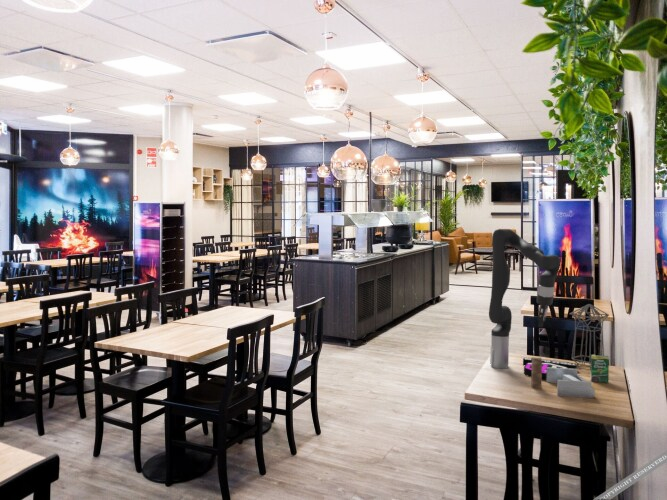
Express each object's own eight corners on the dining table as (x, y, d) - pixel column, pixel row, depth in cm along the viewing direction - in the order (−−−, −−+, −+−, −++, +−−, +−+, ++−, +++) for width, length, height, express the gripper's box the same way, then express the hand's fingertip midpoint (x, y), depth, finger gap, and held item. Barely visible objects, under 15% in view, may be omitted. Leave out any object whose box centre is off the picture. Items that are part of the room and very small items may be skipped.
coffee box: (590, 381, 264) (591, 355, 263) (590, 379, 266) (590, 354, 266) (608, 383, 260) (609, 357, 260) (608, 381, 263) (608, 355, 262)
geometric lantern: (580, 362, 300) (582, 301, 298) (609, 369, 287) (611, 304, 286) (566, 367, 290) (567, 303, 289) (594, 373, 278) (596, 307, 276)
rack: (557, 395, 241) (558, 380, 240) (546, 381, 263) (546, 367, 263) (594, 397, 238) (594, 382, 238) (579, 383, 261) (579, 369, 260)
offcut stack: (574, 394, 243) (574, 381, 242) (562, 386, 255) (562, 374, 254) (582, 394, 243) (582, 381, 243) (569, 386, 255) (569, 374, 255)
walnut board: (532, 388, 252) (533, 358, 251) (531, 386, 255) (531, 357, 254) (541, 388, 251) (542, 359, 251) (539, 386, 254) (540, 357, 254)
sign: (524, 363, 298) (515, 377, 272) (524, 357, 298) (515, 369, 272) (577, 370, 286) (573, 384, 259) (577, 363, 286) (573, 377, 259)
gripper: (539, 288, 273) (535, 318, 277) (535, 296, 261) (531, 327, 265) (555, 291, 270) (551, 321, 274) (551, 299, 258) (547, 330, 262)
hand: (541, 324), depth 270 cm, fingers open, 8 cm apart
